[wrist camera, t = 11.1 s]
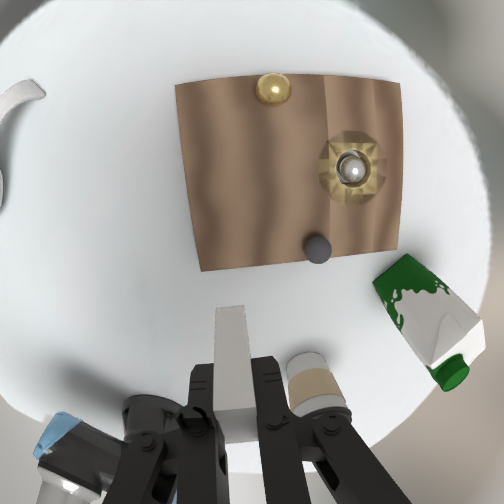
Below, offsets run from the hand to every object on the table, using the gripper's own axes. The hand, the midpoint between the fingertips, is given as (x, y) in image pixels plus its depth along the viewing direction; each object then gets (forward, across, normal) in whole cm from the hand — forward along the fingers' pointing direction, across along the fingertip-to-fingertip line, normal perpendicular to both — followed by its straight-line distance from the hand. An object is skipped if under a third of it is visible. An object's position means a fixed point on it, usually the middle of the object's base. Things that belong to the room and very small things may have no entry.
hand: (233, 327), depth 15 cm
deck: (+21, +9, +5) cm, 23 cm away
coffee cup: (+21, +10, -28) cm, 36 cm away
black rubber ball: (+17, +10, -4) cm, 20 cm away
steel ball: (+19, +15, +5) cm, 25 cm away
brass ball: (+16, +6, +14) cm, 22 cm away
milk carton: (+21, +25, -13) cm, 35 cm away
